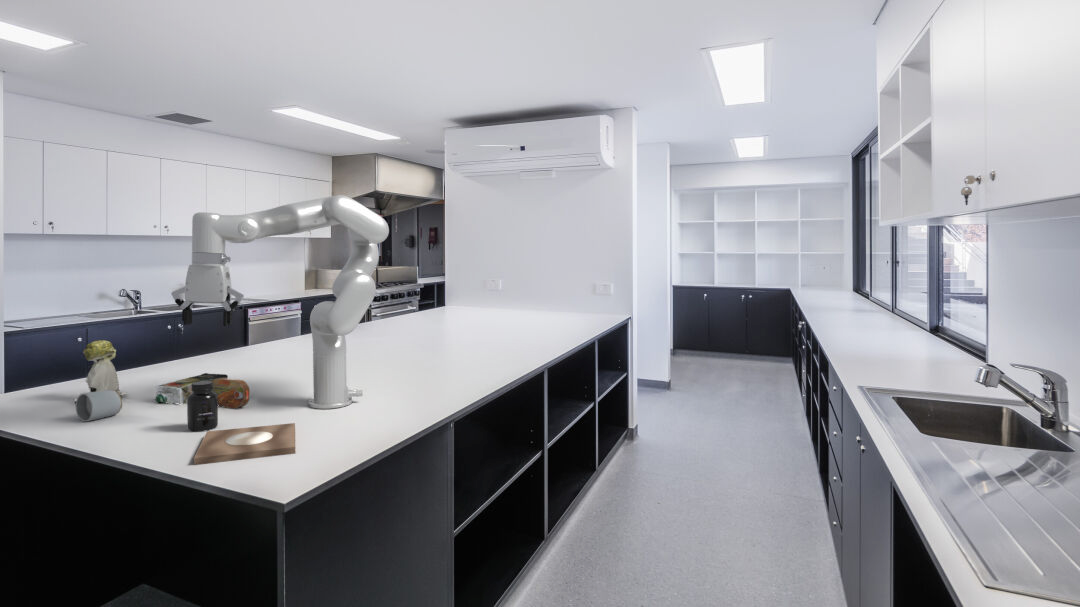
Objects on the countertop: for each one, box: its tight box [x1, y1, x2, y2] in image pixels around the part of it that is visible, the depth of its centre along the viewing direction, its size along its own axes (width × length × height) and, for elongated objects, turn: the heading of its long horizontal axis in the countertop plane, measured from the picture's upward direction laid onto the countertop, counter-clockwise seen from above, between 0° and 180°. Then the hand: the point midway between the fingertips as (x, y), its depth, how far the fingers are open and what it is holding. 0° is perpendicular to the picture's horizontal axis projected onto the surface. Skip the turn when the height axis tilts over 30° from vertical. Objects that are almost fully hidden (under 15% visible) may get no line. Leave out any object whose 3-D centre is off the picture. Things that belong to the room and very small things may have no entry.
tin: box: [211, 377, 251, 409], centre depth 167 cm, size 15×3×8 cm, turn 68°
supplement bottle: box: [186, 381, 219, 432], centre depth 145 cm, size 7×7×12 cm
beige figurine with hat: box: [73, 339, 128, 404], centre depth 172 cm, size 12×13×18 cm
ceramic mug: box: [75, 390, 123, 423], centre depth 154 cm, size 11×8×8 cm
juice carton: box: [155, 372, 229, 405], centre depth 177 cm, size 10×20×6 cm, turn 168°
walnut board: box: [193, 422, 296, 466], centre depth 133 cm, size 20×20×2 cm
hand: (207, 324), depth 147 cm, fingers open, 9 cm apart
